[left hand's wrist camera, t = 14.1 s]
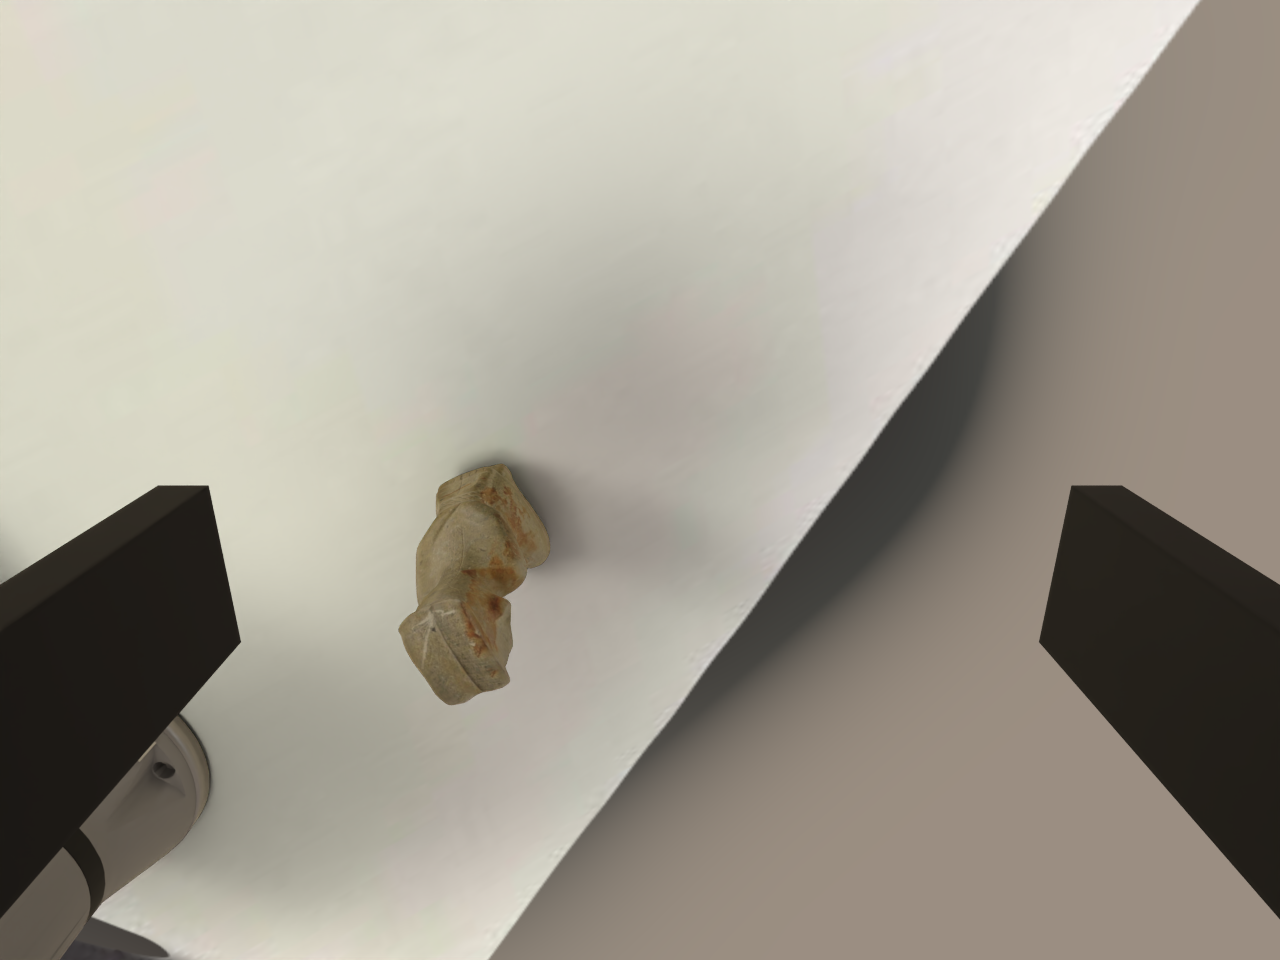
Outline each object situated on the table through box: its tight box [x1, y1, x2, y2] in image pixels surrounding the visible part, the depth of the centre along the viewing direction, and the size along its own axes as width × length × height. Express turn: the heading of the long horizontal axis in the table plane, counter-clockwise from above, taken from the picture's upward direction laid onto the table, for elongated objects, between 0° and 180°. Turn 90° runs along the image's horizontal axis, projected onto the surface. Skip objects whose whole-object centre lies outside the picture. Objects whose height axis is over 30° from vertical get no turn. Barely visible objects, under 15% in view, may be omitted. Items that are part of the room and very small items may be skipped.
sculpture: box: [399, 464, 550, 705], centre depth 40 cm, size 6×7×15 cm
